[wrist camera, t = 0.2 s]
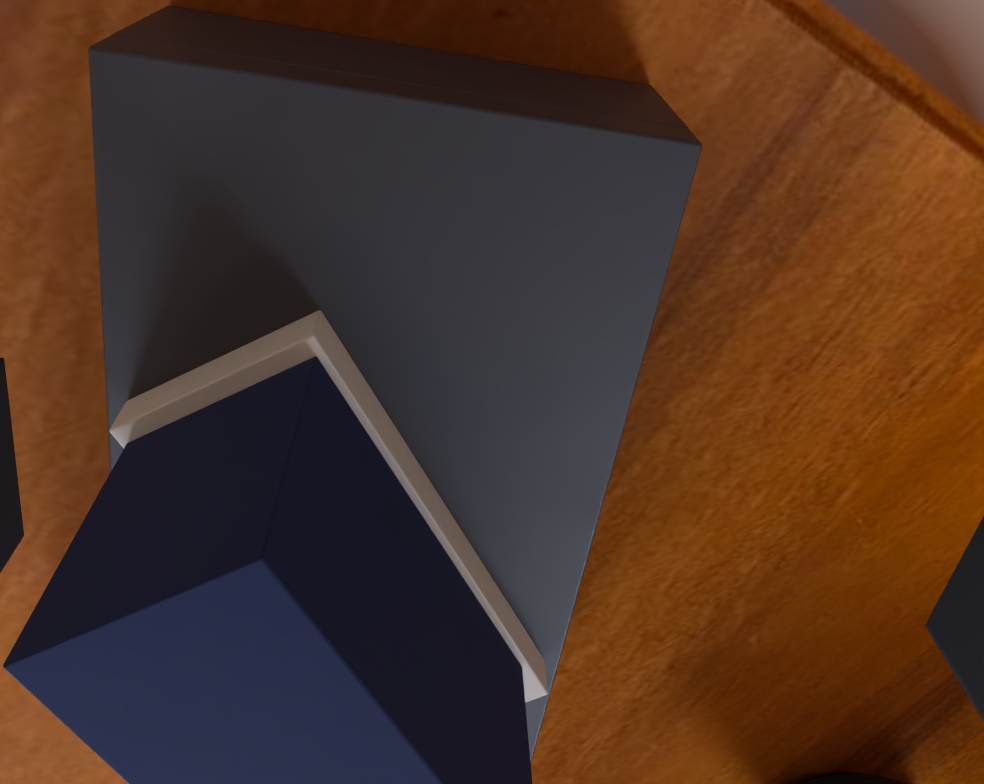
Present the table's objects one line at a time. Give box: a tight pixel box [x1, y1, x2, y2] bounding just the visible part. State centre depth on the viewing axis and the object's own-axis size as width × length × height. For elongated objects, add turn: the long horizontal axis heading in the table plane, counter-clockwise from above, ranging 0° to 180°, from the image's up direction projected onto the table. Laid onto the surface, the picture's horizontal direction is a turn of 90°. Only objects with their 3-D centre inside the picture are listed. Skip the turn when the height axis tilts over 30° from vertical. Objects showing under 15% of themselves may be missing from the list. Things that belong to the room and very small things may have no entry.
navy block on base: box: [3, 310, 548, 784], centre depth 23 cm, size 14×6×9 cm, turn 26°
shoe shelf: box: [89, 6, 702, 784], centre depth 30 cm, size 26×14×6 cm, turn 171°
